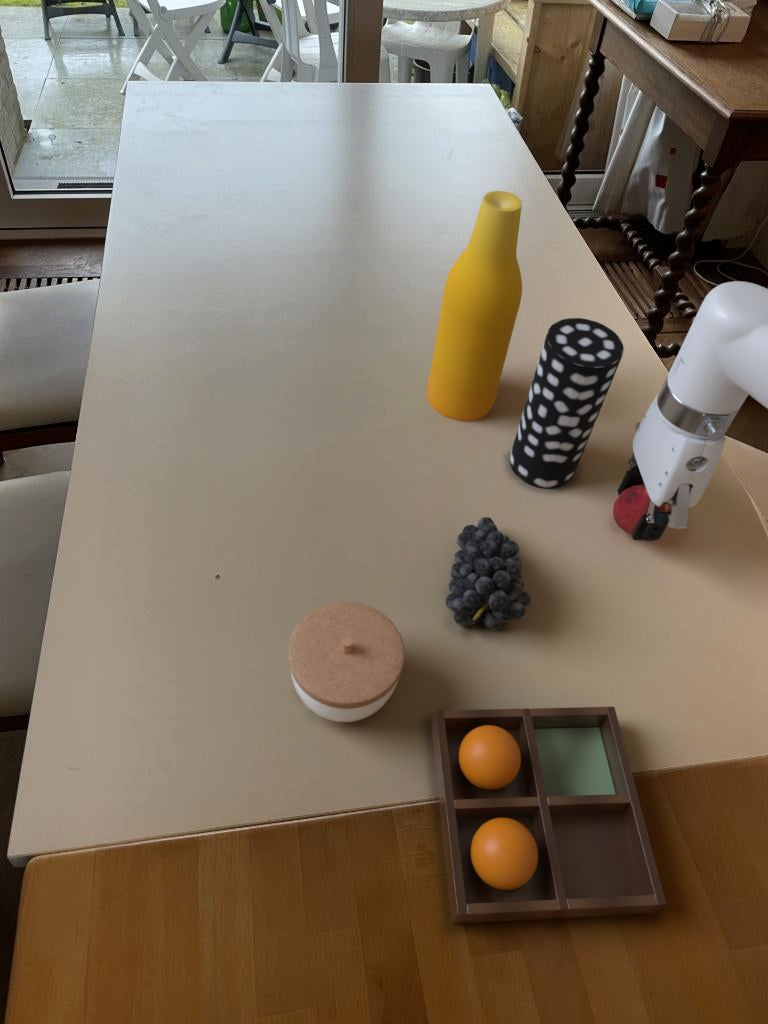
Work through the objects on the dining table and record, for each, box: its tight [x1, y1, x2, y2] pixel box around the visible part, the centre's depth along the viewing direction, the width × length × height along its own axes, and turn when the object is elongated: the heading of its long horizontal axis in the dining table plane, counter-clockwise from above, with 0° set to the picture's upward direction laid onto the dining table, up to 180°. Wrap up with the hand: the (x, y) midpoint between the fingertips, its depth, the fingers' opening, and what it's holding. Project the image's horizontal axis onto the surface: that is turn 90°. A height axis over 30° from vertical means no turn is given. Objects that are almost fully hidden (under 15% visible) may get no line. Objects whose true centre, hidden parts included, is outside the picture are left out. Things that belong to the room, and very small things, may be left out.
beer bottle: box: [426, 190, 523, 422], centre depth 95 cm, size 9×9×29 cm
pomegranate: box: [612, 485, 667, 535], centre depth 91 cm, size 6×6×8 cm
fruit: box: [445, 516, 532, 631], centre depth 84 cm, size 9×8×15 cm
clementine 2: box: [471, 818, 538, 890], centre depth 66 cm, size 6×6×6 cm
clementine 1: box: [459, 725, 521, 790], centre depth 71 cm, size 6×6×6 cm
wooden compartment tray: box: [430, 706, 667, 925], centre depth 70 cm, size 17×17×4 cm
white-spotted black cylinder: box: [508, 317, 625, 490], centre depth 92 cm, size 8×8×20 cm
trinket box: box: [287, 600, 406, 723], centre depth 74 cm, size 11×11×9 cm
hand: (637, 514), depth 92 cm, fingers closed on pomegranate, 5 cm apart
